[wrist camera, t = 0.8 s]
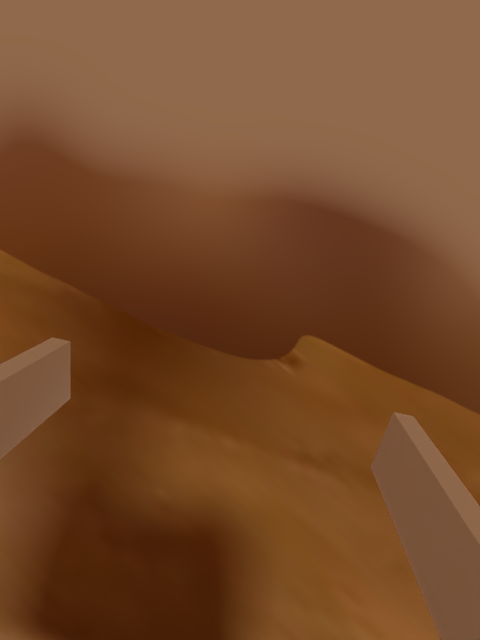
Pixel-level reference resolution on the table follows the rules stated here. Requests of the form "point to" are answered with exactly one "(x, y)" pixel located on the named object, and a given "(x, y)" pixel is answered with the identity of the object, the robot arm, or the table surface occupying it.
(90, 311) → the table surface
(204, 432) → the table surface
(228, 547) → the table surface
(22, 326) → the table surface
